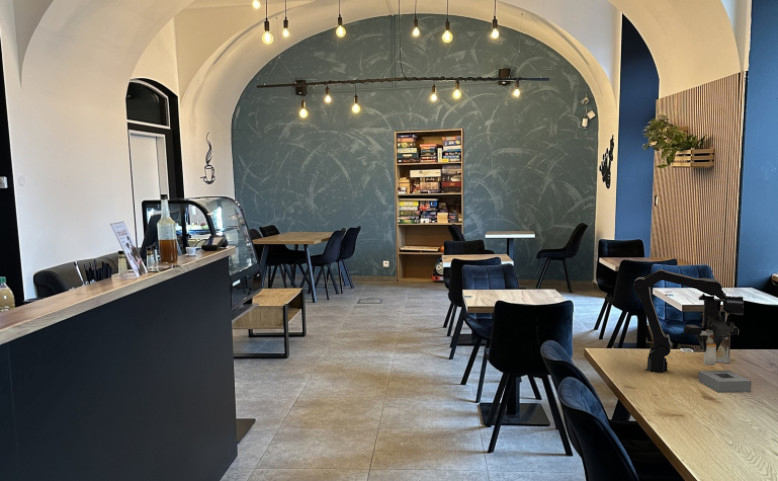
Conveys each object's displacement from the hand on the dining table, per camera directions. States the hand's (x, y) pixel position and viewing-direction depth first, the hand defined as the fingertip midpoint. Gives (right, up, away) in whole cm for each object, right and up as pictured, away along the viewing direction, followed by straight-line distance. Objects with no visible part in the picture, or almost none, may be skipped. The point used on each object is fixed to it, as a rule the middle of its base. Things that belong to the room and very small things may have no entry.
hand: (709, 351), depth 217 cm
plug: (0, -5, 0) cm, 5 cm away
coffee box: (+17, -9, +25) cm, 32 cm away
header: (0, -12, -10) cm, 15 cm away
